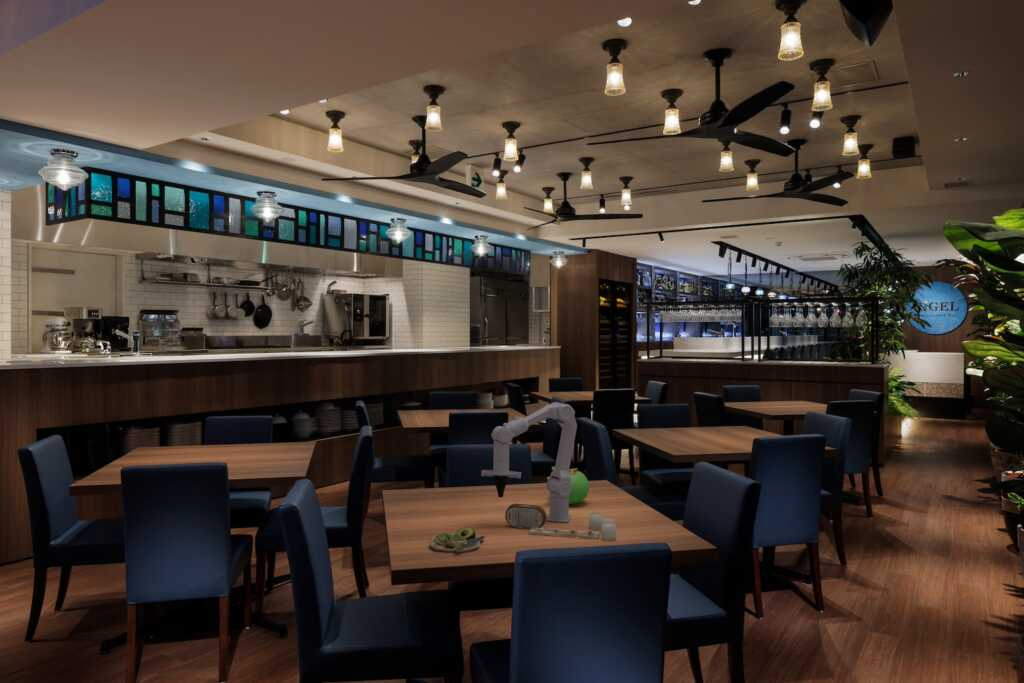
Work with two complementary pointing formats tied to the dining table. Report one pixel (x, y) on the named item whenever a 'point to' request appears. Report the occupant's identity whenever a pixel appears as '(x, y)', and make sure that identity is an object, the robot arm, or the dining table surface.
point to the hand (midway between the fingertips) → (500, 496)
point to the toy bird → (577, 486)
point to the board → (565, 533)
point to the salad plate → (457, 541)
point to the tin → (525, 516)
